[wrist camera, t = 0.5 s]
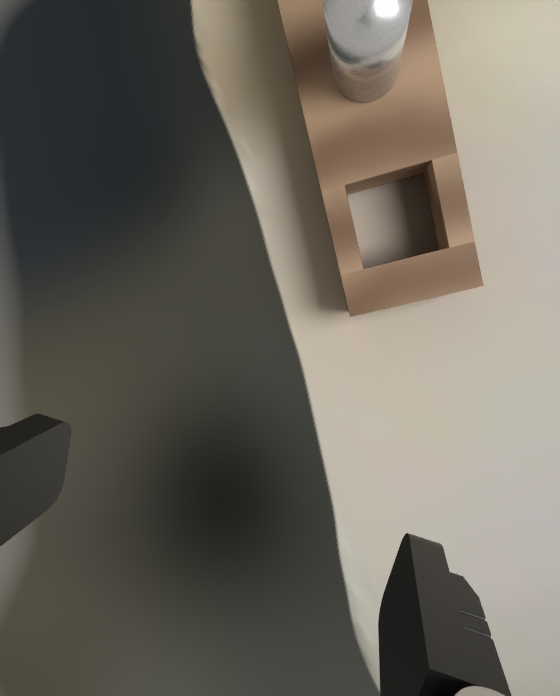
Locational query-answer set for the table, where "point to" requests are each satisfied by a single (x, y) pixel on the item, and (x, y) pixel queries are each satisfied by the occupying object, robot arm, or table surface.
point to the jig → (384, 159)
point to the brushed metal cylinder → (366, 45)
